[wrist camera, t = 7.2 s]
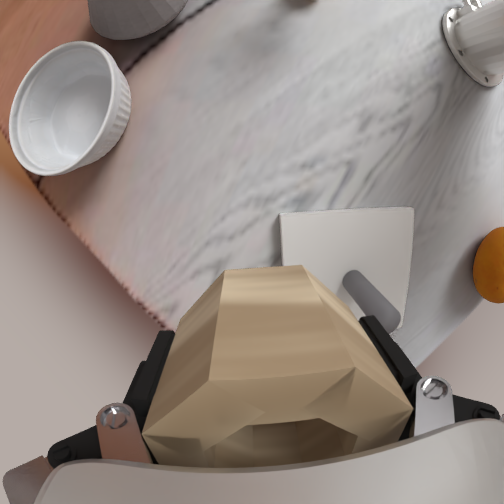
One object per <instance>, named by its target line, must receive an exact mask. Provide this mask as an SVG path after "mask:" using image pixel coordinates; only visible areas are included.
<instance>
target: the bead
mask: <svg viewBox="0 0 504 504" xmlns="http://www.w3.org/2000/svg"><path fill="white" fill-rule="evenodd" d="M412 410H413V407H412V406H411V404H410V402H409V401H408V399H407V397H406V396H405V394H404V392H403V391H402V389H401V387H400V386H399V384H398V382H397V381H396V379H395V378H394V376H393V375H392V373H391V371H390V370H389V368H388V367H387V365H386V364H385V362H384V360H383V359H382V357H381V356H380V354H379V352H378V351H377V349H376V348H375V346H374V345H373V343H372V342H371V340H370V339H369V337H368V335H367V334H366V332H365V331H364V329H363V328H362V326H361V325H360V323H359V322H358V320H357V319H356V317H355V316H354V314H353V313H352V311H351V310H350V308H349V307H348V306H347V305H346V304H345V303H344V302H343V301H342V300H340V299H339V298H338V297H337V296H336V295H335V294H334V293H333V292H332V291H331V290H329V289H328V288H327V287H326V286H325V285H324V284H323V283H322V282H321V281H319V280H318V279H317V278H316V277H315V276H314V275H313V274H312V273H310V272H309V271H308V270H307V269H306V268H305V267H304V266H303V265H292V266H278V267H263V268H248V269H232V270H225V271H224V272H223V273H222V274H221V275H220V276H219V277H218V278H217V279H216V280H215V282H214V283H213V284H212V285H211V286H210V287H209V288H208V289H207V290H206V291H205V293H204V294H203V295H202V296H201V297H200V298H199V299H198V300H197V301H196V303H195V304H194V305H193V306H192V307H191V308H190V309H189V310H188V311H187V313H186V314H185V315H184V316H183V317H182V318H181V319H180V322H179V325H178V328H177V330H176V333H175V337H174V340H173V343H172V345H171V348H170V351H169V354H168V357H167V360H166V363H165V366H164V368H163V371H162V374H161V377H160V380H159V383H158V386H157V389H156V392H155V395H154V397H153V400H152V403H151V406H150V409H149V412H148V415H147V418H146V422H145V425H144V428H143V431H142V436H143V438H144V439H145V441H146V443H147V445H148V447H149V448H150V450H151V452H152V453H153V455H154V457H155V458H156V460H157V462H158V463H159V465H169V466H182V467H200V468H247V467H265V466H278V465H288V464H296V463H304V462H311V461H318V460H324V459H329V458H335V457H340V456H345V455H349V454H354V453H358V452H363V451H367V450H371V449H374V448H378V447H382V446H385V445H389V444H392V443H395V442H397V441H398V440H399V438H400V436H401V434H402V432H403V430H404V428H405V425H406V423H407V421H408V419H409V417H410V415H411V413H412Z"/></svg>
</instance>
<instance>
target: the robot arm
mask: <svg viewBox="0 0 504 504" xmlns="http://www.w3.org/2000/svg"><path fill="white" fill-rule="evenodd" d="M462 2H463V3H464V8H462V9H460V8H453V9H450V10H449V11H447V12H446V13H445V14H444V17H443V23H442V25H443V31H444V35H445V38H446V41H447V43H448V46H449V47H450V49H451V51H452V53H453V55H454V57H455V58H456V60H457V61H458V63H459V64H460V65H461V67H462V68H463V69H464V70H465V71H466V72H467V74H468V75H469V76H470V77H472V78H473V79H474V80H475V81H477V82H478V83H479V84H482V85H484V86H488V87H491V86H496V85H499V84H500V83H501V81H502V79H503V76H504V0H494V1H492V2H490V3H488V4H485V5H483V6H482V4H481V1H480V0H462ZM358 322H359V323H360V325H361V326H362V328H363V329H364V331H365V332H366V334H367V335H368V337H369V339H370V340H371V342H372V343H373V345H374V346H375V348H376V349H377V351H378V352H379V354H380V356H381V357H382V359H383V360H384V362H385V364H386V365H387V367H388V368H389V370H390V371H391V373H392V375H393V376H394V378H395V379H396V381H397V382H398V384H399V386H400V387H401V389H402V391H403V392H404V394H405V396H406V397H407V399H408V401H409V402H410V404H411V406H412V407H413V410H412V413H411V415H410V417H409V419H408V421H407V423H406V425H405V428H404V430H403V432H402V434H401V436H400V438H399V440H398V441H397V442H395V443H392V444H389V445H385V446H382V447H378V448H374V449H371V450H367V451H363V452H358V453H354V454H349V455H345V456H340V457H335V458H329V459H324V460H318V461H311V462H304V463H296V464H288V465H278V466H265V467H247V468H200V467H182V466H169V465H159V463H158V462H157V460H156V458H155V457H154V455H153V453H152V452H151V450H150V448H149V447H148V445H147V443H146V441H145V439H144V438H143V436H142V431H143V428H144V425H145V422H146V418H147V415H148V412H149V409H150V406H151V403H152V400H153V397H154V395H155V392H156V389H157V386H158V383H159V380H160V377H161V374H162V371H163V368H164V366H165V363H166V360H167V357H168V354H169V351H170V348H171V345H172V343H173V340H174V337H175V333H174V331H159V333H158V335H157V338H156V340H155V342H154V344H153V347H152V349H151V351H150V353H149V355H148V358H147V360H146V361H142V362H141V363H140V365H139V367H138V369H137V371H136V374H135V376H134V378H133V381H132V383H131V385H130V387H129V390H128V392H127V394H126V397H125V399H124V401H123V403H112V404H109V405H106V406H105V407H103V408H102V409H101V410H100V411H99V412H98V415H97V416H96V424H97V425H95V426H93V427H91V428H89V429H87V430H85V431H82V432H80V433H78V434H75V435H73V436H71V437H69V438H66V439H64V440H61V441H59V442H57V443H55V444H54V445H53V446H52V447H51V448H50V449H49V451H48V456H47V457H45V458H44V457H43V456H40V457H38V458H36V459H34V460H32V461H29V462H27V463H25V464H23V465H20V466H18V467H16V468H14V469H12V470H9V471H8V472H6V474H5V475H4V477H3V486H4V489H5V492H6V494H7V497H8V499H9V502H10V504H504V414H503V415H502V416H500V415H499V412H498V411H497V409H496V408H495V407H493V406H492V405H489V404H486V403H483V402H479V401H474V400H471V399H466V398H463V397H459V396H456V395H452V389H451V386H450V384H449V383H448V382H447V381H446V380H445V379H443V378H440V377H437V376H427V377H424V378H422V377H421V376H420V374H419V373H418V372H417V370H416V369H415V367H414V366H413V365H412V363H411V362H410V360H409V359H408V358H407V356H406V355H405V354H404V352H403V351H402V350H401V348H400V347H399V346H398V344H397V343H396V342H394V341H393V339H392V338H391V337H390V335H389V334H388V333H387V331H386V330H385V329H384V327H383V326H382V325H381V323H380V322H379V321H378V320H377V318H376V317H375V316H374V315H370V316H363V317H360V319H359V321H358Z"/></svg>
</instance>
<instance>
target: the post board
mask: <svg viewBox="0 0 504 504" xmlns="http://www.w3.org/2000/svg"><path fill="white" fill-rule="evenodd" d="M279 221H280V238H281V257H282V266H292V265H303V266H304V267H305V268H306V269H307V270H308V271H309V272H310V273H312V274H313V275H314V276H315V277H316V278H317V279H318V280H319V281H321V282H322V283H323V284H324V285H325V286H326V287H327V288H328V289H329V290H331V291H332V292H333V293H334V294H335V295H336V296H337V297H338V298H339V299H340V300H342V301H343V302H344V303H345V304H346V305H347V306H348V307H349V308H350V310H351V311H352V313H353V314H354V316H355V317H356V319H357V320H358V321H359V319H360V317H363V316H370V315H374V316H375V317H376V318H377V320H378V321H379V322H380V323H381V325H382V326H383V327H384V329H385V330H386V331H387V333H388V334H389V333H391V332H393V331H394V330H395V329H397V328H401V327H402V323H403V317H404V311H405V305H406V299H407V292H408V284H409V276H410V267H411V257H412V246H413V231H414V208H411V207H408V206H403V207H377V208H356V209H338V210H321V211H306V212H291V213H279Z"/></svg>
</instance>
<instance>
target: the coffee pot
mask: <svg viewBox="0 0 504 504" xmlns="http://www.w3.org/2000/svg"><path fill="white" fill-rule="evenodd" d="M187 1H188V0H88V7H89V16H90V23H91V25H92V26H93V28H94V30H95V31H96V32H97V33H98V34H100V35H101V36H103V37H106V38H109V39H113V40H130V39H135V38H140V37H143V36H146V35H148V34H151V33H154V32H155V31H157V30H159V29H161V28H162V27H164V26H166V25H167V24H168V23H169V22H171V21H172V20H173V19H174V18H176V17H177V15H178V14H179V13H180V12H181V10H182V9H183V8H184V7H185V5H186V3H187Z"/></svg>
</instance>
